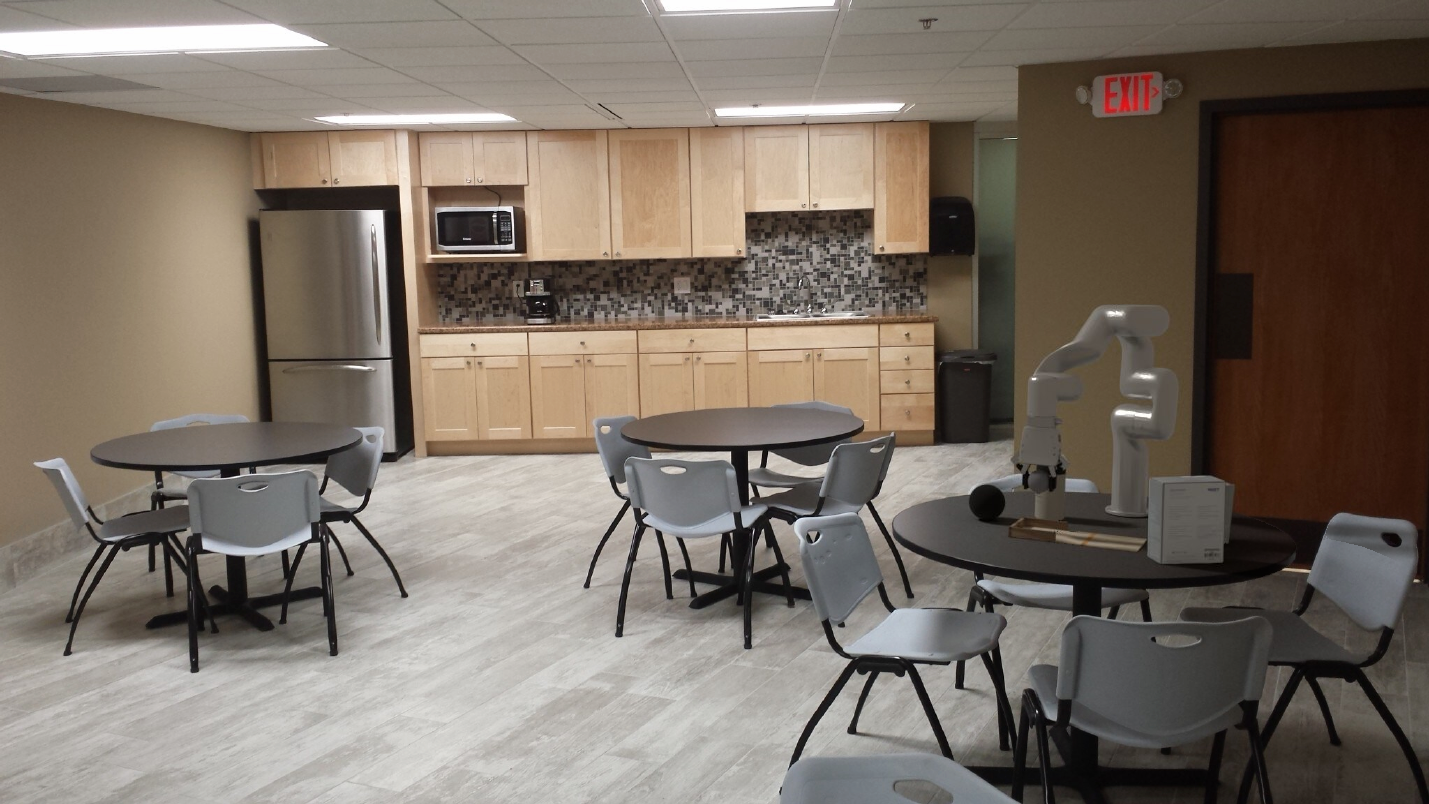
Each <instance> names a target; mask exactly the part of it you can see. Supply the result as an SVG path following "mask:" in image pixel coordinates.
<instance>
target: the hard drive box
mask: <svg viewBox="0 0 1429 804" xmlns="http://www.w3.org/2000/svg"><path fill="white" fill-rule="evenodd" d="M1148 478H1149V480H1148V481H1149V483H1148V485H1149V487H1148V508H1149V516H1148V520H1147V521H1148V524H1147V525H1148V526H1147V527H1148V530H1147V531H1148V532H1147V558H1150V559H1151V560H1153V561H1155V562H1156V563H1158V564H1159V565H1180V564H1217V563H1219V564H1222V563H1223V562H1224V545H1225V544H1224V520H1225V492H1226V483H1227V482H1226V480H1223V479H1220V478H1218V477H1215V476H1213V475H1185V476H1184V475H1183V476H1179V475H1178V476H1158V477H1157V476H1154V477H1148Z"/></svg>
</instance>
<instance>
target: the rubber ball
mask: <svg viewBox="0 0 1429 804" xmlns="http://www.w3.org/2000/svg"><path fill="white" fill-rule="evenodd" d="M1029 474H1030V475H1029V477H1028V480H1027V482H1028V486H1029V488H1028V489H1030V490H1031V492H1034V493H1036V492H1037V493H1042V492H1045V491H1047V490H1048V489H1049V477H1050V476H1049V474H1048V473H1046V472H1045V471H1042V470H1034V471H1032V472H1031V473H1029Z"/></svg>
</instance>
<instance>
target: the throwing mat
mask: <svg viewBox="0 0 1429 804" xmlns="http://www.w3.org/2000/svg"><path fill="white" fill-rule="evenodd" d="M1054 531H1055V532H1054ZM1057 531H1058V532H1057ZM1070 531H1072V530H1071V529H1069V522H1068V521H1066V520H1064V521H1063V520H1060V521H1057V520H1048V519H1039V518H1036V517H1026V516H1022V517H1021V518H1020V519H1018V520H1017V521H1015V522H1014V523H1012V524H1011V525H1009V527H1008V537H1009V536H1010V537H1009V538H1014V537H1016V538H1015V539H1022V538H1024V540H1030V539H1032V540H1033V541H1040V542H1047V541H1051V542H1050V543H1056V544H1064V543H1067V545H1072V544H1074V545H1075V546H1081V545H1083V546H1082V547H1091V548H1098V549H1099V548H1100V549H1108V550H1115V551H1123V552H1132V553H1138V552H1139V551H1140V550H1141V548H1142V547H1143V546H1144V545H1145V543H1146V542H1148V538H1142V537H1141V538H1139V537H1132V536H1122V535H1114V534H1105V533H1096V532H1086V531H1081V530H1075V531H1076V532H1070ZM1077 531H1078V532H1077ZM1025 538H1026V539H1025ZM1057 542H1058V543H1057ZM1074 545H1073V546H1074Z"/></svg>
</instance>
